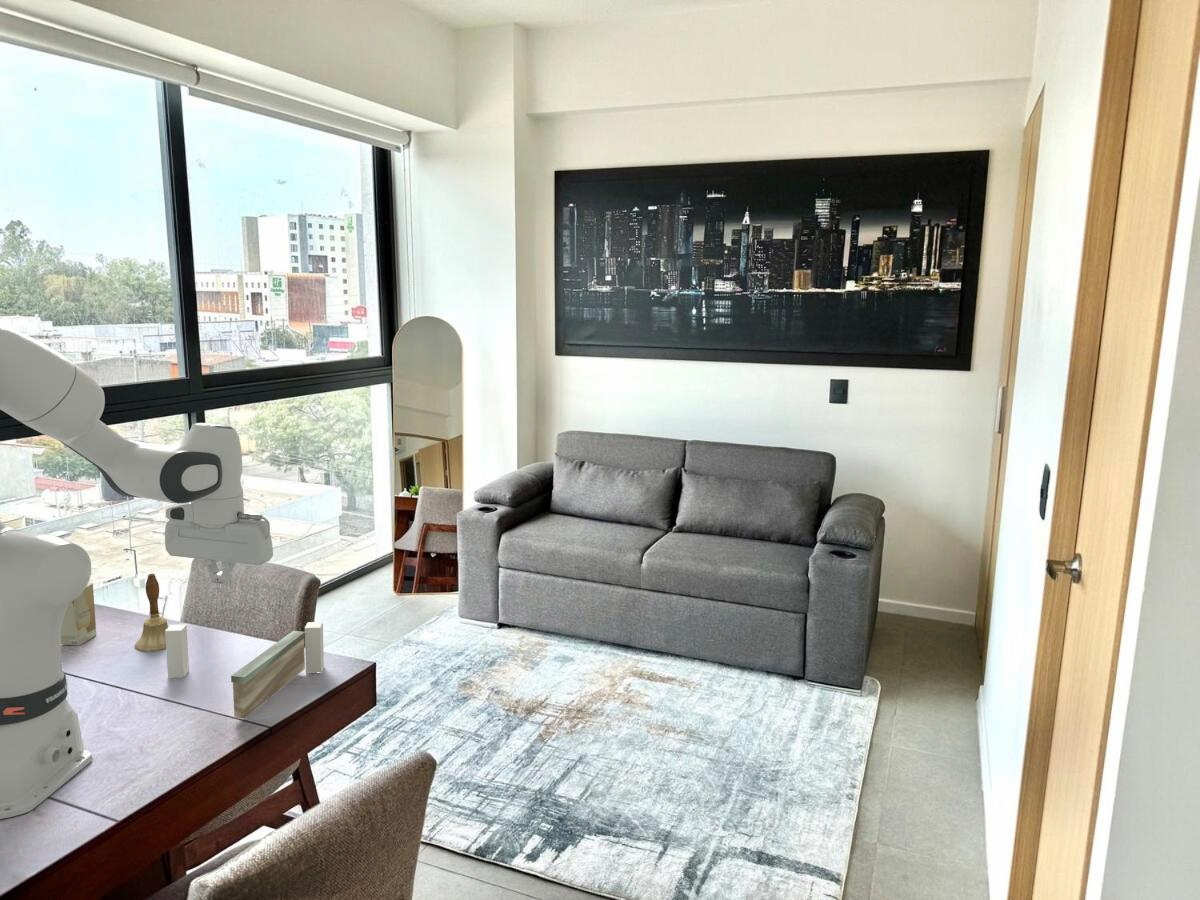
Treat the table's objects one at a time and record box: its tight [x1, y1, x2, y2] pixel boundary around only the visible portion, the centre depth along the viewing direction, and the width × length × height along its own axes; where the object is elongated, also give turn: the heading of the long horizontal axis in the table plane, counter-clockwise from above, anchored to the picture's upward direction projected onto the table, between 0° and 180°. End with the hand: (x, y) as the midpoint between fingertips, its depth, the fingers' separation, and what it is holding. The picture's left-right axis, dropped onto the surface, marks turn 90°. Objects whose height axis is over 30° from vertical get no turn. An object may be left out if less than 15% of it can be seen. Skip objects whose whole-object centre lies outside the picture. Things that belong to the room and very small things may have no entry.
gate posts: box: [165, 621, 325, 679], centre depth 167 cm, size 3×30×10 cm, turn 98°
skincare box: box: [60, 582, 97, 646], centre depth 180 cm, size 6×4×12 cm
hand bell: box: [134, 573, 169, 652], centre depth 179 cm, size 8×8×16 cm
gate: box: [230, 630, 306, 720], centre depth 158 cm, size 3×21×8 cm, turn 171°
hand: (220, 582), depth 153 cm, fingers closed
